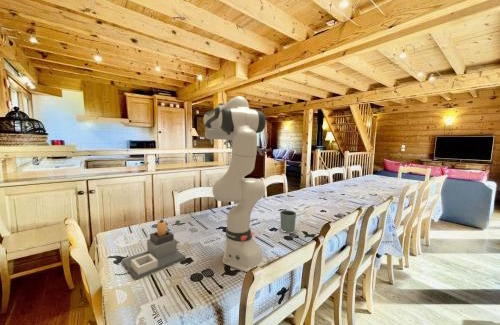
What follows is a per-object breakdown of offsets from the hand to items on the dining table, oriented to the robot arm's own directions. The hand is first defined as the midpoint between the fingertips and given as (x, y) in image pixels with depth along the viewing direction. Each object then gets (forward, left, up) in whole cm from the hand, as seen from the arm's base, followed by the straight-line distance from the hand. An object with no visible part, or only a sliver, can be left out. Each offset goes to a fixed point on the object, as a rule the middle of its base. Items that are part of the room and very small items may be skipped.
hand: (218, 144), depth 154 cm
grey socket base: (-26, +58, -54) cm, 83 cm away
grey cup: (-49, -18, -54) cm, 76 cm away
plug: (-23, +53, -47) cm, 74 cm away
